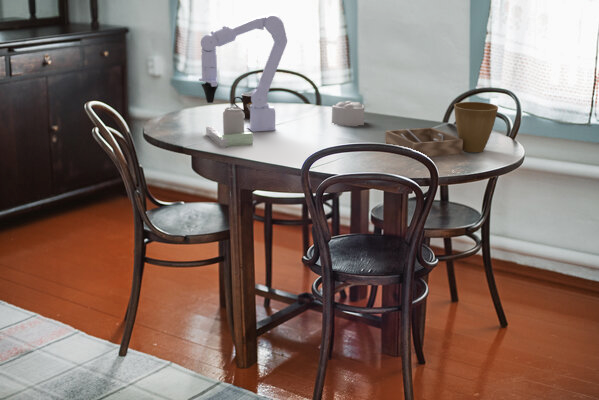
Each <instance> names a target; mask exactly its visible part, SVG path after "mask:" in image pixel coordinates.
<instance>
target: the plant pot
mask: <svg viewBox="0 0 599 400" xmlns="http://www.w3.org/2000/svg"><path fill="white" fill-rule="evenodd" d="M453 108H454V118H455V125H456V132H457V136H458V137H457V138H459V139H462V140H463V146H462V151H463V150H464V152H465V151H467V152H466V153H471V152H479V153H482V152H484V150H485V148H486V145H487V143H488V142H489V139H490V136H491V135H492V131H493V128H494V126H495V122H496V118H497V114H498V110H499V106H498V105H496V104H493V103H490V102H480V101H464V102H463V101H462V102H457V103H454V104H453Z"/></svg>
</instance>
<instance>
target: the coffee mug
mask: <svg viewBox="0 0 599 400" xmlns="http://www.w3.org/2000/svg"><path fill="white" fill-rule="evenodd" d="M251 94H252V92H243V93H241V97H240V96H236V97H233V99H232V100H233V101H232V103H233V105H234V107H239V106H238V105H237V104H236V103H235V100H236V99H239V100H240V101H241V102H242V107H243V108H242V111H243V112H244V120H249V121H250V105H251V104H252V102H251Z"/></svg>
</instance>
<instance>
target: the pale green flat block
mask: <svg viewBox="0 0 599 400" xmlns="http://www.w3.org/2000/svg"><path fill="white" fill-rule="evenodd" d="M205 134H206V136H207V137H208V138H209V139H211V140H212V141H213V142H214V143H215V144H217V145H218V146H219V147H220V148H221V149H222V148H223V149H224V148H225V149H226V148H228V147H232V146H233V147H234V146H235V147H236V146H246V145H249V146H250V145H253V143H254V138H253V136H254V135H253V131H248V132H246V131H244V133H230V134H224V133H223V134H222V133H220V132H219V131H218V130H216V129H215V128H214V127H213V126H206V127H205Z"/></svg>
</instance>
